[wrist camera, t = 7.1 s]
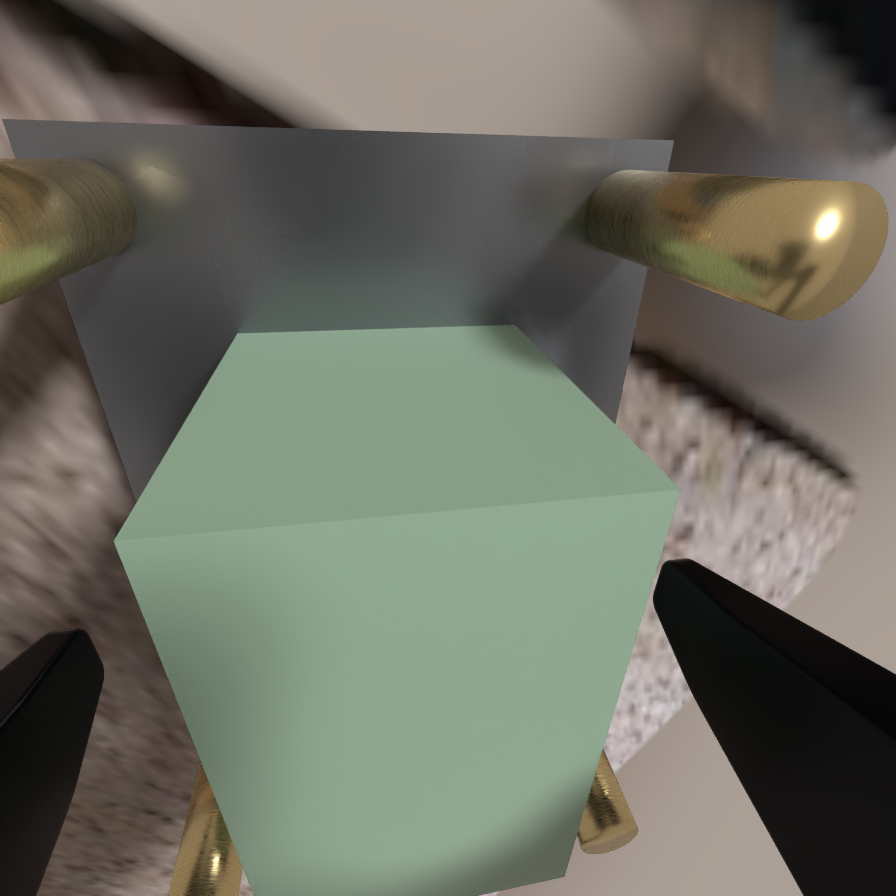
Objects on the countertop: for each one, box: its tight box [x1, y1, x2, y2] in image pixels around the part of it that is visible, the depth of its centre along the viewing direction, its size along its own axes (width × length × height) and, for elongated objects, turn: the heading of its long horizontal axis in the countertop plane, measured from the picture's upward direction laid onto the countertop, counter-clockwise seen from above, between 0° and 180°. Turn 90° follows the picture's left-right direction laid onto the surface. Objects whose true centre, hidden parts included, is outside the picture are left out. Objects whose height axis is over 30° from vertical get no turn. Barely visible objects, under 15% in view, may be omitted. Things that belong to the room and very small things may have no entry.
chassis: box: [0, 119, 888, 896], centre depth 9 cm, size 13×9×5 cm
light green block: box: [114, 325, 681, 896], centre depth 8 cm, size 8×4×5 cm, turn 179°
